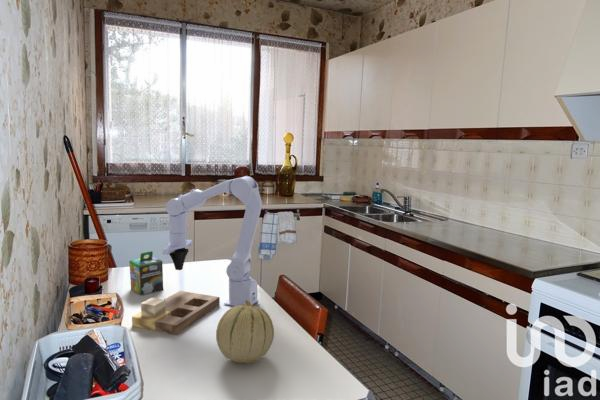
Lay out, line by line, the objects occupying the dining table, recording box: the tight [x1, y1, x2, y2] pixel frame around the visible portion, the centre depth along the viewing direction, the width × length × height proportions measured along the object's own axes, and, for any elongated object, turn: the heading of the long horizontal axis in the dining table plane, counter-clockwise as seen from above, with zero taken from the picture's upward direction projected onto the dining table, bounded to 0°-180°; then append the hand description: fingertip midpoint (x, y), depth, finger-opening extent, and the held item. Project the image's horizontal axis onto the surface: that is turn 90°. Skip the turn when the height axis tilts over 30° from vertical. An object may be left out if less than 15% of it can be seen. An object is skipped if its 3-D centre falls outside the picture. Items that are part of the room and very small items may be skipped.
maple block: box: [140, 297, 166, 318], centre depth 130 cm, size 5×5×4 cm
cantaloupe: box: [215, 301, 275, 364], centre depth 109 cm, size 15×15×15 cm
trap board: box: [131, 290, 221, 336], centre depth 137 cm, size 16×24×3 cm, turn 160°
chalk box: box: [128, 251, 164, 296], centre depth 159 cm, size 9×9×15 cm
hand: (178, 269), depth 151 cm, fingers closed
